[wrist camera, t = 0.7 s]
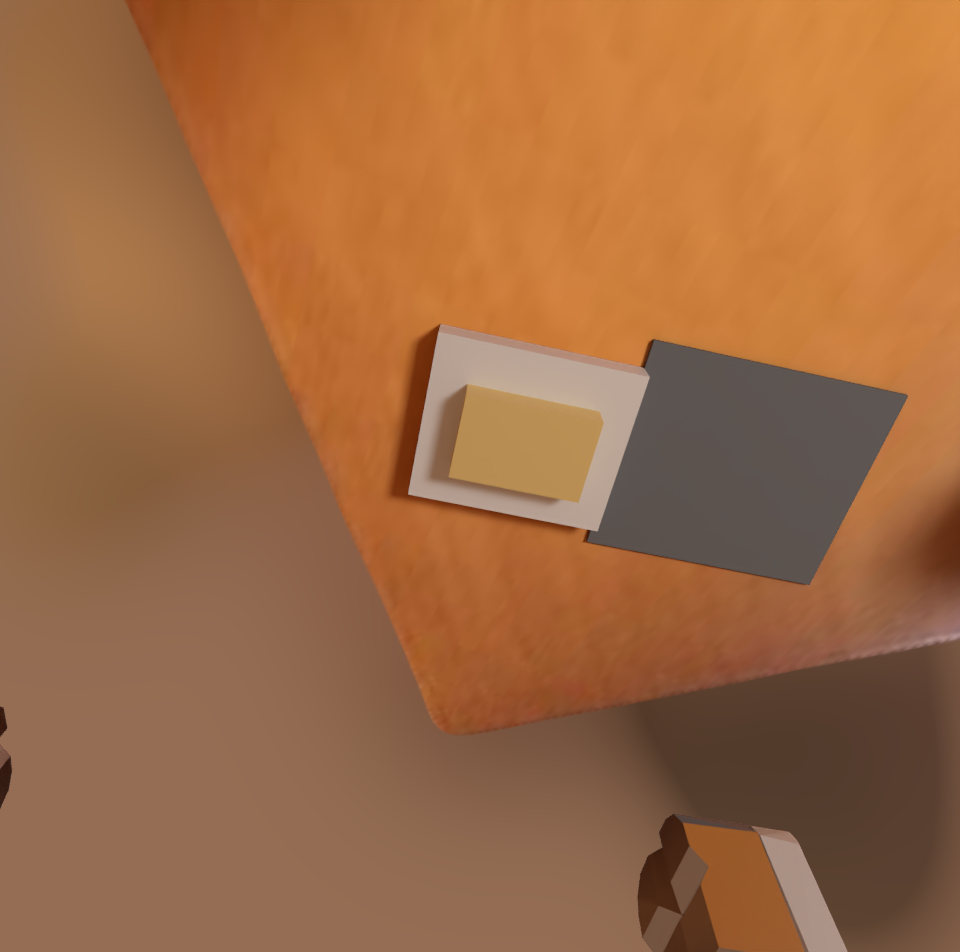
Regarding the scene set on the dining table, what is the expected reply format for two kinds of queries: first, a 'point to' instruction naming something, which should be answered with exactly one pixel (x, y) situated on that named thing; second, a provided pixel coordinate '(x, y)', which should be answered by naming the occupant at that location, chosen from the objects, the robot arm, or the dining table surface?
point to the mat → (743, 463)
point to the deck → (533, 376)
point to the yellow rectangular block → (524, 443)
